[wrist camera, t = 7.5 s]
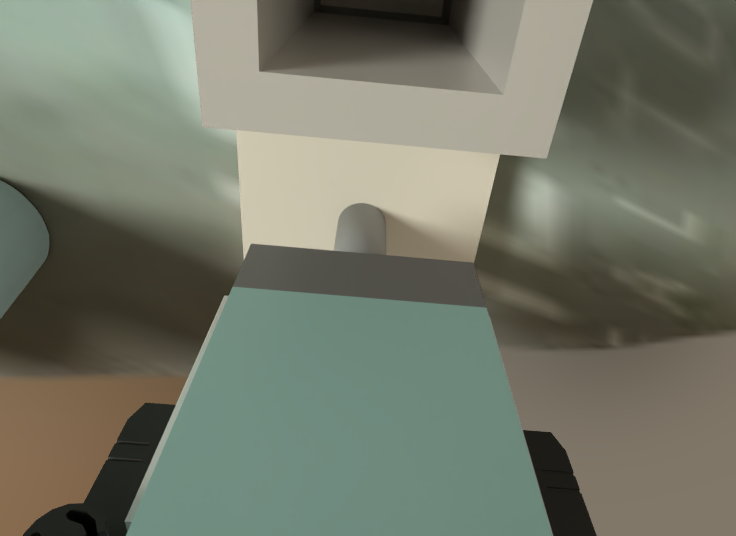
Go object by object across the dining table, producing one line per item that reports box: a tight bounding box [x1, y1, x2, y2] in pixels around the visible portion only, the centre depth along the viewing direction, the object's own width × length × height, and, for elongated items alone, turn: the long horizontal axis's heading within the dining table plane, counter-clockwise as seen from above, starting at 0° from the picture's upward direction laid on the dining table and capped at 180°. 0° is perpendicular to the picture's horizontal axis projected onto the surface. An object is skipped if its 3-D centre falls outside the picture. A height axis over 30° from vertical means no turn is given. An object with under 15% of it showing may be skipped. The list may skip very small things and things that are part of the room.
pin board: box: [236, 0, 500, 263], centre depth 16 cm, size 17×10×8 cm, turn 175°
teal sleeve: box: [126, 244, 552, 536], centre depth 11 cm, size 6×6×10 cm
